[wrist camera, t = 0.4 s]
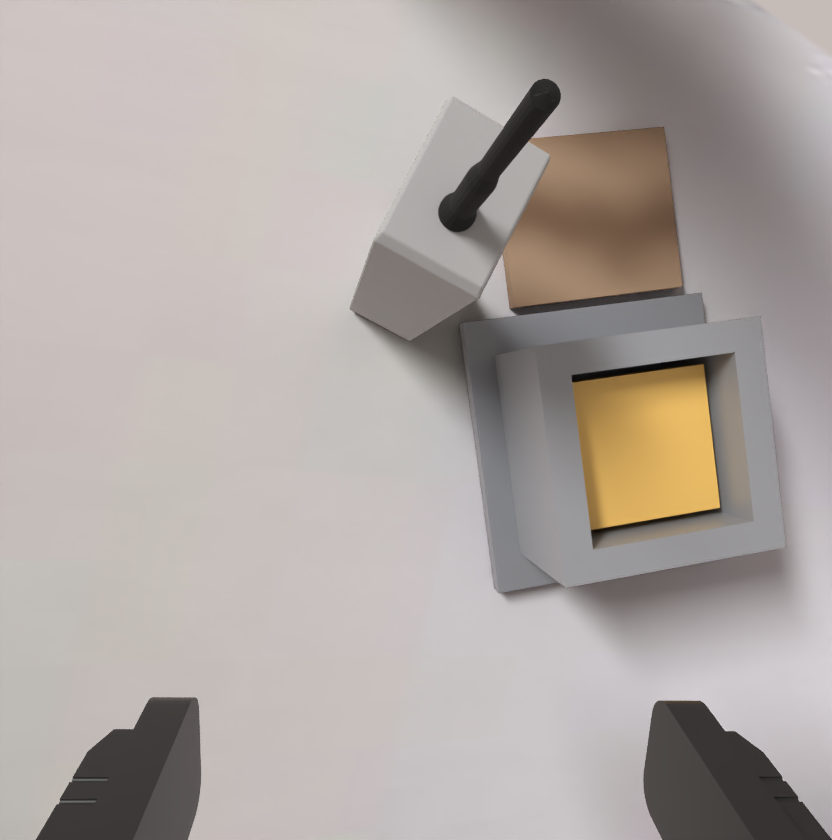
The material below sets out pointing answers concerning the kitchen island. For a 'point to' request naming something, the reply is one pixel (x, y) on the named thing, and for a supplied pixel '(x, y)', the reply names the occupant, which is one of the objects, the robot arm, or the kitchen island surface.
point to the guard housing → (560, 447)
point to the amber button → (646, 445)
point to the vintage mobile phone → (453, 214)
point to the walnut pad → (596, 221)
